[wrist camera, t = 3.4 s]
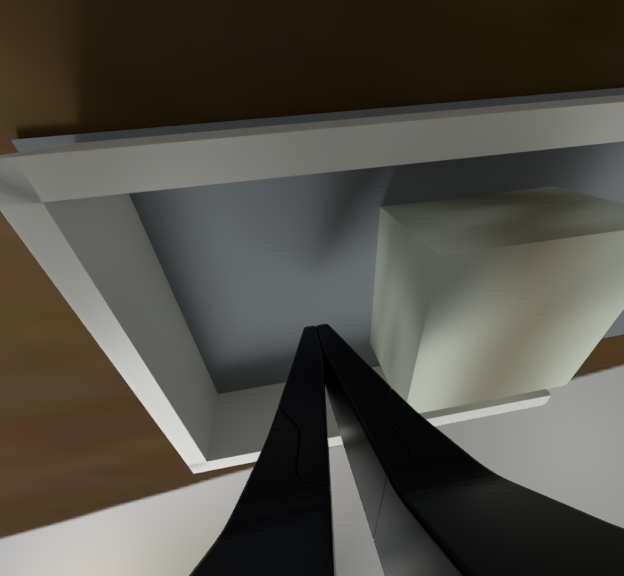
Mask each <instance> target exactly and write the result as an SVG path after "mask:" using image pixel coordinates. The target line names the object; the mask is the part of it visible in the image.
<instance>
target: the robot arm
mask: <svg viewBox="0 0 624 576" xmlns="http://www.w3.org/2000/svg"><path fill="white" fill-rule="evenodd" d="M325 387H326V391H327V394H328V398H329V401H330V404H331V407H332V410H333V413H334V416H335V420H336V423H337V426H338V429H339V432H340V435H341V439H342V442H343V445H344V448H345V451H346V454H347V458H348V461H349V464H350V467H351V470H352V473H353V476H354V479H355V483H356V486H357V489H358V492H359V495H360V499H361V502H362V505H363V508H364V511H365V514H366V518H367V520H368V524H369V527H370V530H371V533H372V537H373V539H374V543H375V546H376V549H377V552H378V556H379V559H380V562H381V565H382V568H383V571H384V575H385V576H624V528H621V527H619V526H616V525H613V524H611V523H608V522H605V521H603V520H601V519H599V518H596V517H594V516H592V515H589V514H587V513H585V512H582V511H580V510H577V509H575V508H573V507H570V506H568V505H566V504H563V503H561V502H558V501H556V500H554V499H551V498H549V497H547V496H544V495H542V494H539V493H537V492H535V491H533V490H530V489H528V488H525V487H523V486H521V485H518V484H516V483H514V482H511V481H509V480H507V479H505V478H503V477H501V476H499V475H497V474H496V473H494V472H492V471H491V470H489V469H488V468H486V467H485V466H483V465H482V464H480V463H479V462H478V461H476V460H475V459H474V458H472V457H471V456H470V455H469V454H468V453H466V452H465V451H464V450H463V449H462V448H460V447H459V446H458V445H457V444H455V443H454V442H453V441H452V440H451V439H449V438H448V437H447V436H445V435H444V434H443V433H442V432H441V431H439V430H438V429H437V428H436V427H435V426H433V425H432V424H431V423H430V422H429V421H427V420H426V419H425V418H424V417H423V416H422V415H420V414H419V413H418V412H417V411H416V410H415V409H413V408H412V407H411V406H410V405H409V404H408V403H407V402H406V401H405V400H404V399H403V398H402V397H401V396H400V395H399V394H398V393H397V392H396V391H395V390H394V389H391V386H390V385H389V384H388V383H387V382H386V381H385V380H384V379H383V378H382V377H381V376H380V375H379V374H378V373H377V372H376V371H375V370H374V369H373V368H372V367H371V366H370V365H369V364H368V363H367V362H366V361H365V360H364V359H363V358H362V357H361V356H360V355H359V354H358V353H357V352H356V351H355V350H354V349H353V348H352V347H351V346H350V345H349V344H348V343H347V342H346V341H345V340H344V339H343V338H342V337H341V336H340V335H339V334H338V333H337V332H336V331H335V330H334V329H333V328H332V327H331V326H330V325H329V324H320V325H317V326H314V325H313V326H306V327H304V329H303V332H302V335H301V338H300V341H299V344H298V347H297V350H296V353H295V356H294V359H293V362H292V365H291V368H290V371H289V374H288V377H287V381H286V384H285V387H284V390H283V393H282V396H281V399H280V402H279V405H278V409H277V411H276V414H275V417H274V420H273V423H272V425H271V428H270V431H269V434H268V436H267V439H266V441H265V443H264V446H263V448H262V450H261V453H260V455H259V457H258V459H257V462H256V464H255V466H254V468H253V470H252V472H251V475H250V477H249V479H248V481H247V483H246V485H245V487H244V489H243V492H242V494H241V496H240V498H239V500H238V502H237V504H236V506H235V509H234V510H233V513H232V514H231V517H230V518H229V520H228V522H227V524H226V526H225V527H224V529H223V531H222V532H221V534H220V535H219V537H218V538H217V540H216V541H215V543H214V544H213V545H212V547H211V548H210V549H209V551H208V552H207V553H206V555H205V556H204V557H203V558H202V560H201V561H200V562H199V564H198V565H197V566H196V567H195V569H194V570H193V572H192V573H191V574H190V575H189V576H336V563H335V547H334V529H333V513H332V495H331V478H330V461H329V444H328V427H327V410H326V394H325Z"/></svg>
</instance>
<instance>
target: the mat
mask: <svg viewBox="0 0 624 576" xmlns="http://www.w3.org/2000/svg"><path fill="white" fill-rule="evenodd" d="M617 95H624V88H613V89H601V90H589V91H577V92H566V93H554V94H542V95H530V96H519V97H507V98H495V99H484V100H472V101H460V102H448V103H437V104H425V105H413V106H401V107H390V108H378V109H366V110H354V111H343V112H331V113H319V114H308V115H296V116H284V117H272V118H261V119H249V120H237V121H225V122H214V123H202V124H190V125H178V126H167V127H155V128H143V129H132V130H120V131H108V132H96V133H85V134H73V135H61V136H49V137H38V138H26V139H15V140H11V141H12V142H13V144H14V145H15V147H16V149H17V150H18V152H24V151H30V150H36V149H42V148H48V147H54V146H60V145H66V144H73V143H82V142H93V141H105V140H116V139H127V138H139V137H150V136H162V135H173V134H184V133H196V132H207V131H218V130H230V129H241V128H253V127H264V126H275V125H287V124H298V123H309V122H321V121H332V120H344V119H355V118H366V117H378V116H389V115H400V114H412V113H423V112H435V111H446V110H457V109H469V108H480V107H491V106H503V105H514V104H526V103H537V102H548V101H560V100H571V99H582V98H594V97H605V96H617ZM551 186H555V187H559V188H563V189H567V190H571V191H575V192H579V193H583V194H586V195H590V196H594V197H598V198H602V199H606V200H610V201H614V202H618V203H622V204H624V141H622V142H612V143H603V144H593V145H584V146H574V147H565V148H555V149H546V150H536V151H527V152H517V153H508V154H498V155H489V156H479V157H470V158H460V159H451V160H441V161H431V162H422V163H412V164H403V165H393V166H384V167H374V168H365V169H355V170H346V171H336V172H327V173H317V174H308V175H298V176H289V177H279V178H270V179H260V180H251V181H241V182H232V183H222V184H212V185H203V186H193V187H184V188H174V189H165V190H155V191H146V192H136V193H129V195H130V197H131V200H132V202H133V204H134V206H135V209H136V211H137V213H138V215H139V218H140V220H141V222H142V224H143V227H144V229H145V231H146V233H147V236H148V238H149V240H150V242H151V245H152V247H153V249H154V251H155V253H156V256H157V258H158V260H159V262H160V265H161V267H162V269H163V271H164V274H165V276H166V278H167V280H168V283H169V285H170V287H171V289H172V292H173V294H174V296H175V298H176V301H177V303H178V305H179V307H180V310H181V312H182V314H183V316H184V319H185V321H186V323H187V325H188V328H189V330H190V332H191V334H192V337H193V339H194V341H195V343H196V346H197V348H198V350H199V352H200V355H201V357H202V359H203V361H204V364H205V366H206V368H207V370H208V373H209V375H210V377H211V379H212V382H213V384H214V386H215V388H216V391H217V393H218V394H221V393H227V392H232V391H238V390H244V389H250V388H256V387H261V386H267V385H273V384H279V383H285V382H286V381H287V377H288V374H289V371H290V368H291V365H292V362H293V359H294V356H295V353H296V350H297V347H298V344H299V341H300V338H301V335H302V332H303V329H304V327H306V326H313V325H314V326H317V325H320V324H329V325H330V326H331V327H332V328H333V329H334V330H335V331H336V332H337V333H338V334H339V335H340V336H341V337H342V338H343V339H344V340H345V341H346V342H347V343H348V344H349V345H350V346H351V347H352V348H353V349H354V350H355V351H356V352H357V353H358V354H359V355H360V356H361V357H362V358H363V359H364V360H365V361H366V362H367V363H368V364H369V365H370V366H371V367H377V366H380V363H379V361H378V359H377V357H376V355H375V353H374V350H373V348H372V346H371V344H370V335H371V321H372V308H373V295H374V282H375V269H376V255H377V242H378V229H379V216H380V207H382V206H391V205H399V204H408V203H416V202H424V201H433V200H441V199H450V198H458V197H467V196H475V195H484V194H492V193H500V192H509V191H517V190H526V189H534V188H543V187H551ZM623 334H624V309H623V311H622V312H621V313H620V315H619V316H618V317H617V319H616V320H615V321H614V323H613V324H612V325H611V327H610V328H609V329H608V331H607V332H606V333H605V335H604V336H603V337H602V338H606V337H611V336H617V335H623Z"/></svg>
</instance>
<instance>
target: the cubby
mask: <svg viewBox="0 0 624 576" xmlns="http://www.w3.org/2000/svg"><path fill="white" fill-rule="evenodd" d="M622 141H624V95H617V96H605V97H594V98H582V99H571V100H560V101H548V102H537V103H526V104H514V105H503V106H491V107H480V108H469V109H457V110H446V111H435V112H423V113H412V114H400V115H389V116H378V117H366V118H355V119H344V120H332V121H321V122H309V123H298V124H287V125H275V126H264V127H253V128H241V129H230V130H218V131H207V132H196V133H184V134H173V135H162V136H150V137H139V138H127V139H116V140H105V141H93V142H82V143H73V144H66V145H60V146H54V147H48V148H42V149H36V150H30V151H24V152H18V153H12V154H6V155H0V211H1V212H2V214H3V215H4V216H5V218H6V219H7V220H8V222H9V223H10V225H11V226H12V227H13V229H14V230H15V231H16V233H17V234H18V235H19V237H20V238H21V239H22V241H23V242H24V244H25V245H26V246H27V248H28V249H29V250H30V252H31V253H32V254H33V256H34V257H35V259H36V260H37V261H38V263H39V264H40V265H41V267H42V268H43V269H44V271H45V272H46V273H47V275H48V276H49V278H50V279H51V280H52V282H53V283H54V284H55V286H56V287H57V288H58V290H59V291H60V292H61V294H62V295H63V297H64V298H65V299H66V301H67V302H68V303H69V305H70V306H71V307H72V309H73V310H74V312H75V313H76V314H77V316H78V317H79V318H80V320H81V321H82V322H83V324H84V325H85V326H86V328H87V329H88V331H89V332H90V333H91V335H92V336H93V337H94V339H95V340H96V341H97V343H98V344H99V345H100V347H101V348H102V350H103V351H104V352H105V354H106V355H107V356H108V358H109V359H110V360H111V362H112V363H113V365H114V366H115V367H116V369H117V370H118V371H119V373H120V374H121V375H122V377H123V378H124V379H125V381H126V382H127V384H128V385H129V386H130V388H131V389H132V390H133V392H134V393H135V394H136V396H137V397H138V398H139V400H140V401H141V403H142V404H143V405H144V407H145V408H146V409H147V411H148V412H149V413H150V415H151V416H152V418H153V419H154V420H155V422H156V423H157V424H158V426H159V427H160V428H161V430H162V431H163V432H164V434H165V435H166V437H167V438H168V439H169V441H170V442H171V443H172V445H173V446H174V447H175V449H176V450H177V452H178V453H179V454H180V456H181V457H182V458H183V460H184V461H185V462H186V464H187V465H188V466H189V468H190V469H191V471H192V472H193V473H199V472H204V471H210V470H215V469H220V468H225V467H230V466H235V465H240V464H245V463H250V462H255V461H257V459H258V457H259V455H260V453H261V450H262V448H263V446H264V443H265V441H266V439H267V436H268V434H269V431H270V428H271V425H272V423H273V420H274V417H275V414H276V411H277V409H278V405H279V402H280V399H281V396H282V393H283V390H284V387H285V384H286V382H285V383H279V384H273V385H267V386H261V387H256V388H250V389H244V390H238V391H232V392H227V393H221V394H218V393H217V391H216V388H215V386H214V384H213V382H212V379H211V377H210V375H209V373H208V370H207V368H206V366H205V364H204V361H203V359H202V357H201V355H200V352H199V350H198V348H197V346H196V343H195V341H194V339H193V337H192V334H191V332H190V330H189V328H188V325H187V323H186V321H185V319H184V316H183V314H182V312H181V310H180V307H179V305H178V303H177V301H176V298H175V296H174V294H173V292H172V289H171V287H170V285H169V283H168V280H167V278H166V276H165V274H164V271H163V269H162V267H161V265H160V262H159V260H158V258H157V256H156V253H155V251H154V249H153V247H152V245H151V242H150V240H149V238H148V236H147V233H146V231H145V229H144V227H143V224H142V222H141V220H140V218H139V215H138V213H137V211H136V209H135V206H134V204H133V202H132V200H131V197H130V195H129V193H136V192H146V191H155V190H165V189H174V188H184V187H193V186H203V185H212V184H222V183H232V182H241V181H251V180H260V179H270V178H279V177H289V176H298V175H308V174H317V173H327V172H336V171H346V170H355V169H365V168H374V167H384V166H393V165H403V164H412V163H422V162H431V161H441V160H451V159H460V158H470V157H479V156H489V155H498V154H508V153H517V152H527V151H536V150H546V149H555V148H565V147H574V146H584V145H593V144H603V143H612V142H622ZM372 368H373V369H374V370H375V371H376V372H377V373H378V374H379V375H380V376H381V377H382V378H383V379H384V380H385V381H386V382H387V383H388V381H387V379H386V377H385V374H384V372H383V370H382V368H381V366H377V367H372ZM388 384H389V383H388ZM325 394H326V410H327V427H328V444H329V447H332V446H337V445H342V444H343V442H342V439H341V435H340V432H339V429H338V426H337V423H336V420H335V416H334V413H333V410H332V407H331V404H330V401H329V398H328V394H327V391H326V387H325ZM550 397H551V394H550V393H549V392H548V391H547V390H546V389H544V390H538V391H533V392H528V393H523V394H518V395H512V396H507V397H502V398H497V399H491V400H486V401H481V402H476V403H470V404H465V405H460V406H455V407H449V408H444V409H439V410H434V411H428V412H423V413H419V414H420V415H422V416H423V417H424V418H425V419H426V420H427V421H429V422H430V423H431V424H432V425H433V426H439V425H444V424H449V423H454V422H459V421H464V420H469V419H475V418H479V417H485V416H490V415H494V414H500V413H505V412H510V411H515V410H520V409H526V408H531V407H536V406H541V405H545V404H546V402H547V401H548V400H549V398H550Z"/></svg>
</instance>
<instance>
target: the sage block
mask: <svg viewBox="0 0 624 576" xmlns="http://www.w3.org/2000/svg"><path fill="white" fill-rule="evenodd" d="M623 309H624V204H622V203H618V202H614V201H610V200H606V199H602V198H598V197H594V196H590V195H586V194H583V193H579V192H575V191H571V190H567V189H563V188H559V187H555V186H551V187H543V188H534V189H526V190H517V191H509V192H500V193H492V194H484V195H475V196H467V197H458V198H450V199H441V200H433V201H424V202H416V203H408V204H399V205H391V206H382V207H380V216H379V229H378V242H377V255H376V269H375V282H374V295H373V308H372V321H371V335H370V344H371V346H372V348H373V350H374V353H375V355H376V357H377V359H378V361H379V363H380V366H381V368H382V370H383V372H384V374H385V377H386V379H387V381H388V383H389V385H390V386H391V389H394V390H395V391H396V392H397V393H398V394H399V395H400V396H401V397H402V398H403V399H404V400H405V401H406V402H407V403H408V404H409V405H410V406H411V407H412V408H413V409H415V410H416V411H417V412H418V413H423V412H428V411H434V410H439V409H444V408H449V407H455V406H460V405H465V404H470V403H476V402H481V401H486V400H491V399H497V398H502V397H507V396H512V395H518V394H523V393H528V392H533V391H538V390H544V389H549V388H554V387H559V386H565V385H567V383H568V382H569V381H570V379H571V378H572V377H573V376H574V374H575V373H576V372H577V370H578V369H579V368H580V366H581V365H582V364H583V362H584V361H585V360H586V358H587V357H588V356H589V354H590V353H591V352H592V350H593V349H594V348H595V346H596V345H597V344H598V342H599V341H600V340H601V338H602V337H603V336H604V335H605V333H606V332H607V331H608V329H609V328H610V327H611V325H612V324H613V323H614V321H615V320H616V319H617V317H618V316H619V315H620V313H621V312H622V311H623Z"/></svg>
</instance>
